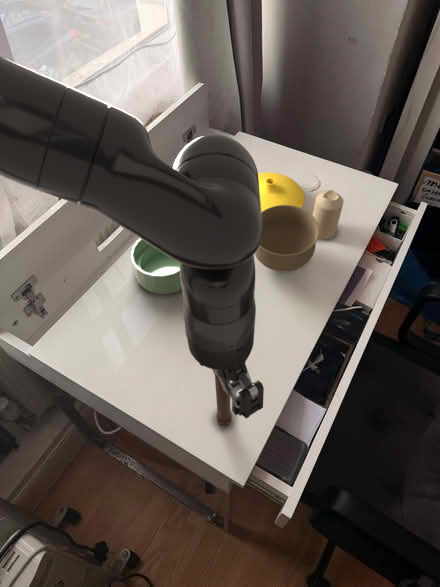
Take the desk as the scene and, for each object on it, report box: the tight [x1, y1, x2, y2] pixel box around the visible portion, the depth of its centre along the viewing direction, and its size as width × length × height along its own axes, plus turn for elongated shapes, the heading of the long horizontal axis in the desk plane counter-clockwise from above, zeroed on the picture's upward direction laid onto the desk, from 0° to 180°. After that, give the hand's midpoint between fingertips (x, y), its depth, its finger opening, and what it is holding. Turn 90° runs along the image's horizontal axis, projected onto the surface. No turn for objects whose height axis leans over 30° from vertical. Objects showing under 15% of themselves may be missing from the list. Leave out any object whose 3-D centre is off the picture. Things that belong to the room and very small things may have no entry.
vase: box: [258, 171, 305, 212], centre depth 97 cm, size 16×16×7 cm
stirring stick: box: [214, 374, 233, 428], centre depth 63 cm, size 2×2×16 cm
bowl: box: [254, 205, 319, 273], centre depth 85 cm, size 13×13×10 cm
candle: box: [312, 189, 344, 240], centre depth 90 cm, size 6×6×10 cm
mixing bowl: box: [130, 238, 182, 295], centre depth 86 cm, size 12×12×6 cm
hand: (222, 384), depth 59 cm, fingers open, 8 cm apart
